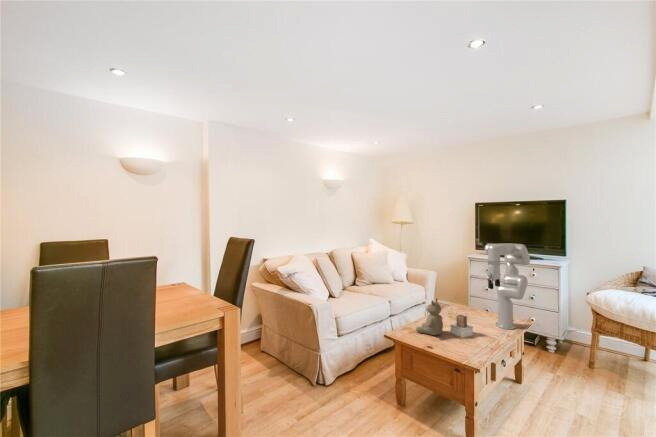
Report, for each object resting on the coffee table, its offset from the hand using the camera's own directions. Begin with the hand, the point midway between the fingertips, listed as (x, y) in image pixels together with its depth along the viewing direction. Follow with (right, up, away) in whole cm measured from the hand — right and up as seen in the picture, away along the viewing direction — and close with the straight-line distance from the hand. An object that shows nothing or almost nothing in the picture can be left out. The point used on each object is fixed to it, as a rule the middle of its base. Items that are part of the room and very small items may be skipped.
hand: (494, 287), depth 208 cm
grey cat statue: (-43, -34, +6) cm, 55 cm away
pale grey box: (-21, -34, +3) cm, 40 cm away
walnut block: (-21, -28, +3) cm, 35 cm away
